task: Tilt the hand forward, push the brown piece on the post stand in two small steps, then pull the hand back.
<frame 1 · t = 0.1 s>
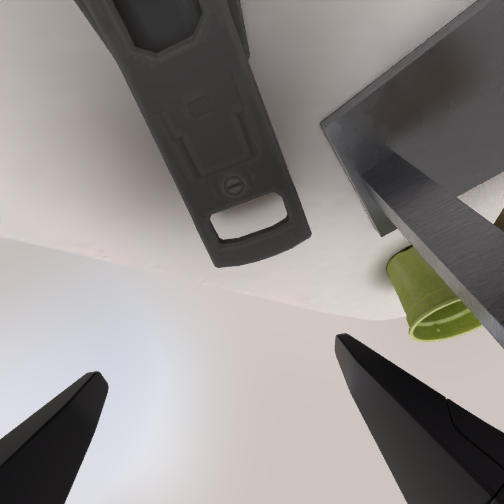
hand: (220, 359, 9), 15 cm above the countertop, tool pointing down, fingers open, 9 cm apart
post stand: (465, 114, 19), on the countertop
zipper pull: (191, 57, 15), on the countertop
plant pot: (408, 259, 32), on the countertop
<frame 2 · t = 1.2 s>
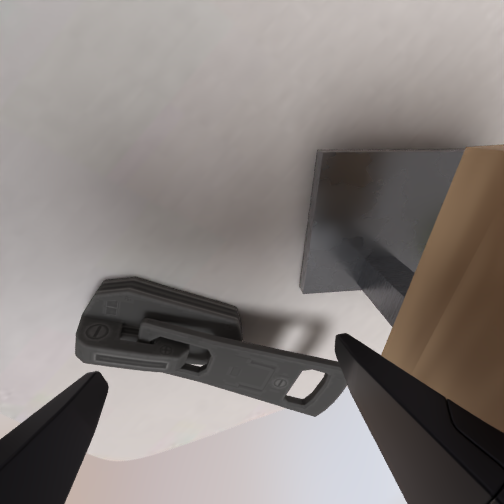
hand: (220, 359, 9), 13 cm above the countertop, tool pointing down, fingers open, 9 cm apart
post stand: (389, 193, 21), on the countertop
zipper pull: (218, 325, 27), on the countertop
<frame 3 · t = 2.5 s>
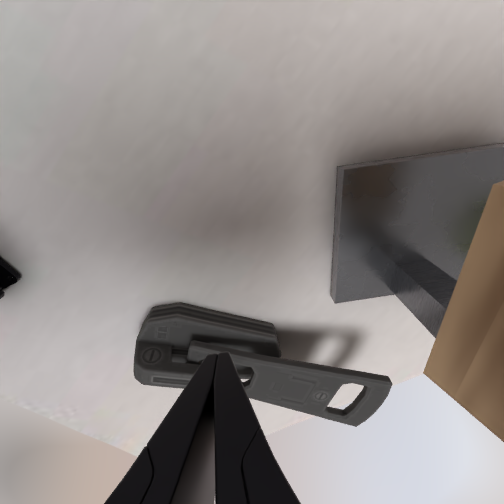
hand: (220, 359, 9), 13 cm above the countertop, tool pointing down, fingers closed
post stand: (415, 197, 21), on the countertop
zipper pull: (256, 341, 28), on the countertop
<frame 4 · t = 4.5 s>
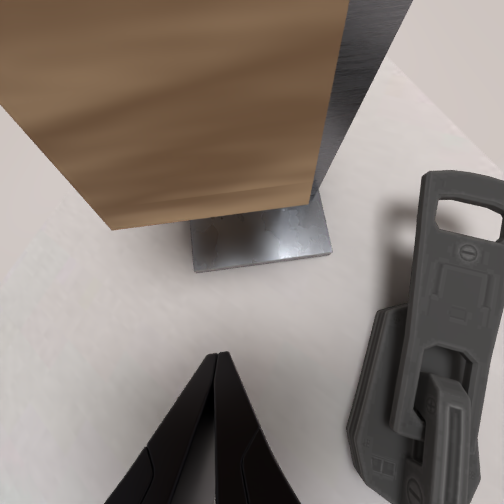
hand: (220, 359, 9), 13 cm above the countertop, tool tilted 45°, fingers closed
post stand: (224, 202, 25), on the countertop
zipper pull: (410, 331, 22), on the countertop
brown piece: (177, 28, 10), point 16 cm above the countertop, hinge at 18.0°
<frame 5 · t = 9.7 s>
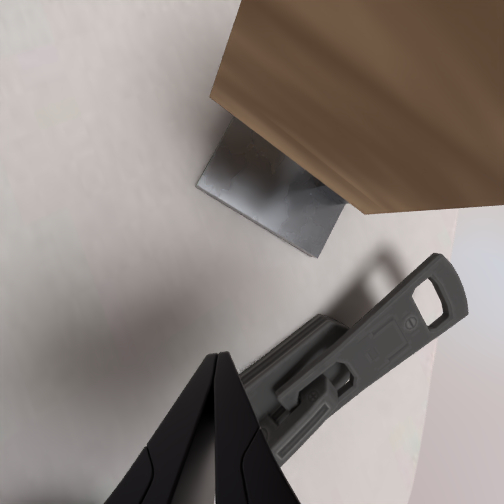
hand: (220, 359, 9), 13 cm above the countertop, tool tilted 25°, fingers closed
post stand: (267, 140, 22), on the countertop
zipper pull: (325, 339, 27), on the countertop
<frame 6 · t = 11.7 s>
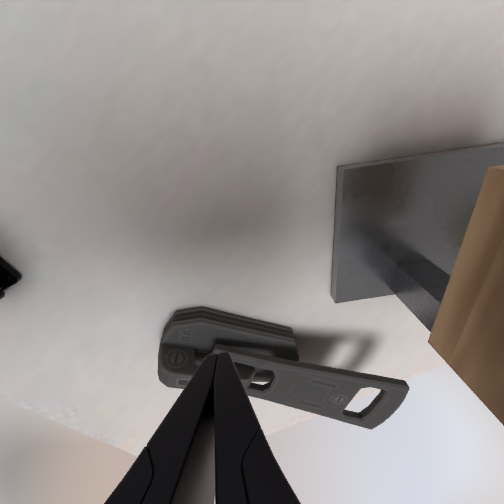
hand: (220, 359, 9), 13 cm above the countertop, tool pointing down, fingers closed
post stand: (416, 197, 21), on the countertop
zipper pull: (273, 344, 29), on the countertop
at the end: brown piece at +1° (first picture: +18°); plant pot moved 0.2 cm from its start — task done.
